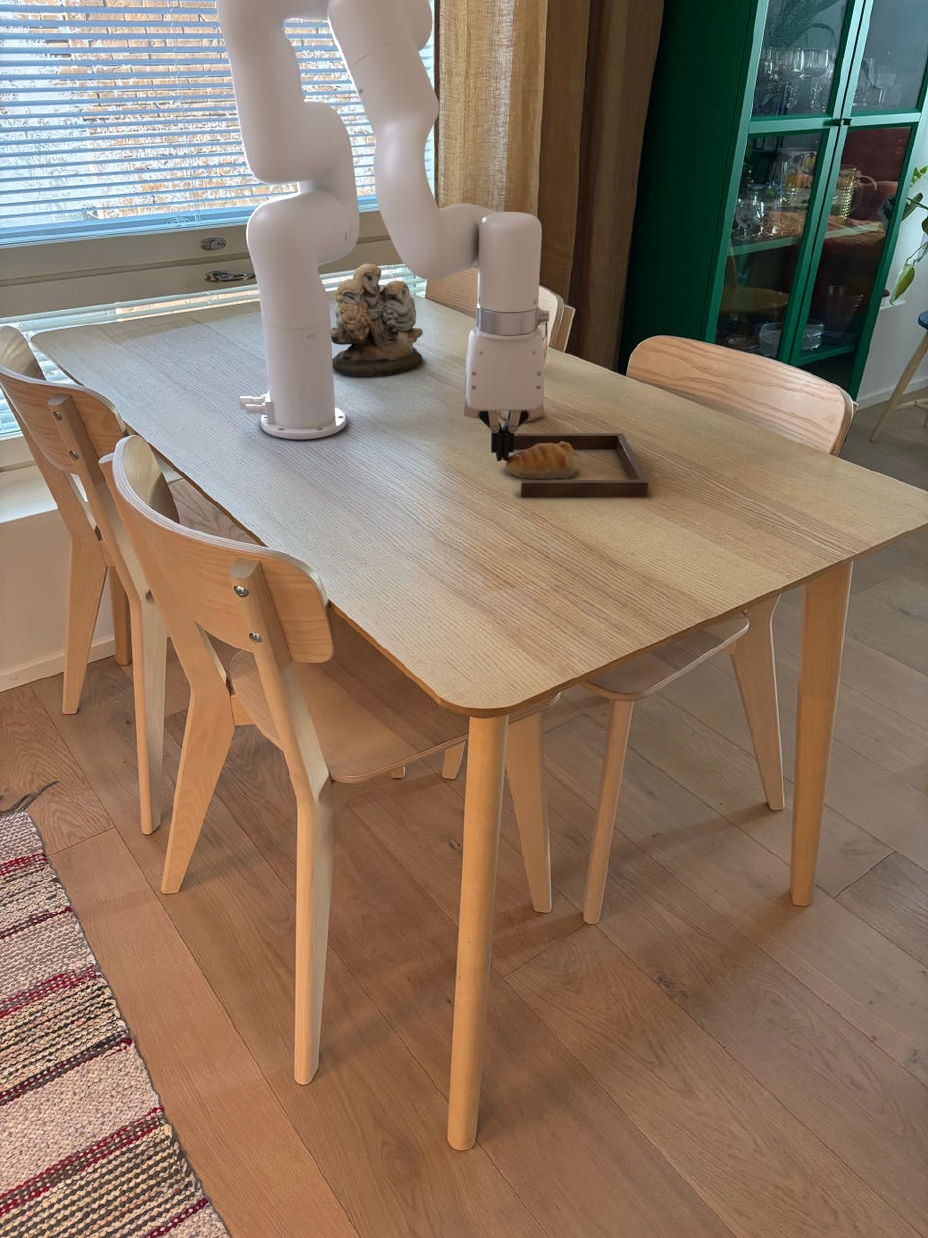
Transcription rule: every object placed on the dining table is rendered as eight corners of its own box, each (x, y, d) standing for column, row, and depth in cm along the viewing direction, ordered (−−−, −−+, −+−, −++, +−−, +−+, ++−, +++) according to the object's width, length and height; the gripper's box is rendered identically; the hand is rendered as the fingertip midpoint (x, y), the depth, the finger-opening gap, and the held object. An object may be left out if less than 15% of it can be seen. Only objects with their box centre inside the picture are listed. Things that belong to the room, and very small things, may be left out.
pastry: (514, 485, 127) (516, 458, 125) (498, 465, 132) (499, 439, 130) (580, 477, 129) (582, 451, 127) (561, 458, 135) (563, 433, 133)
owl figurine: (347, 384, 159) (342, 278, 150) (313, 365, 167) (306, 263, 158) (436, 365, 168) (436, 264, 159) (399, 348, 176) (398, 251, 167)
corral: (521, 497, 124) (521, 483, 123) (508, 446, 138) (509, 433, 137) (647, 496, 125) (648, 482, 123) (621, 445, 139) (623, 432, 138)
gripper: (562, 312, 123) (553, 446, 133) (446, 311, 122) (446, 446, 132) (570, 328, 117) (560, 468, 126) (448, 328, 116) (447, 468, 126)
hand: (502, 456), depth 129 cm, fingers closed
